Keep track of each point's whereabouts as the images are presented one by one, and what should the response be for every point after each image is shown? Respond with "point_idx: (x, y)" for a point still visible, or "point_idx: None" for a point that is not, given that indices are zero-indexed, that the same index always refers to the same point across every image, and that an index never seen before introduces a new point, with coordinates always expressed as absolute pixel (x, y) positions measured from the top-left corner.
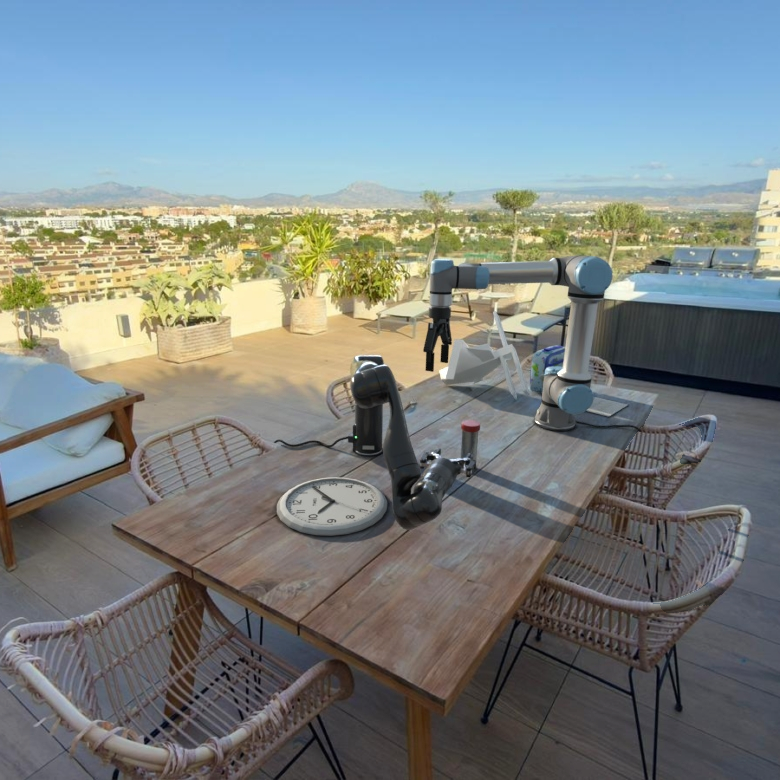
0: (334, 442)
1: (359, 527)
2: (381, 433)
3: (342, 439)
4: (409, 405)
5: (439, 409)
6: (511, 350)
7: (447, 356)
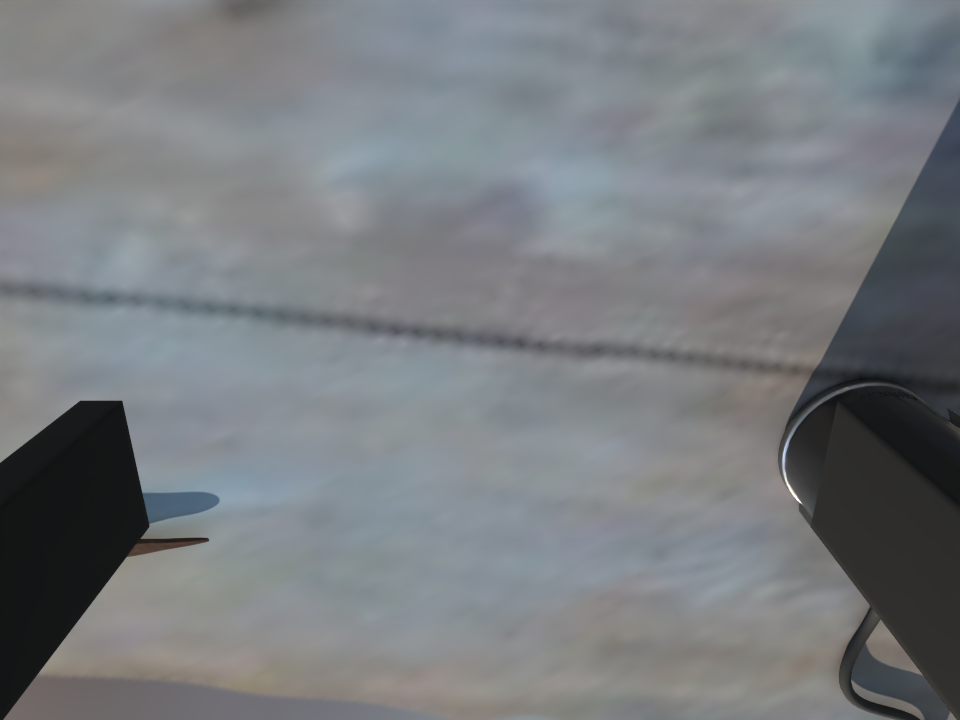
0: None
1: None
2: (933, 435)
3: None
4: None
5: (8, 372)
6: None
7: (38, 478)
